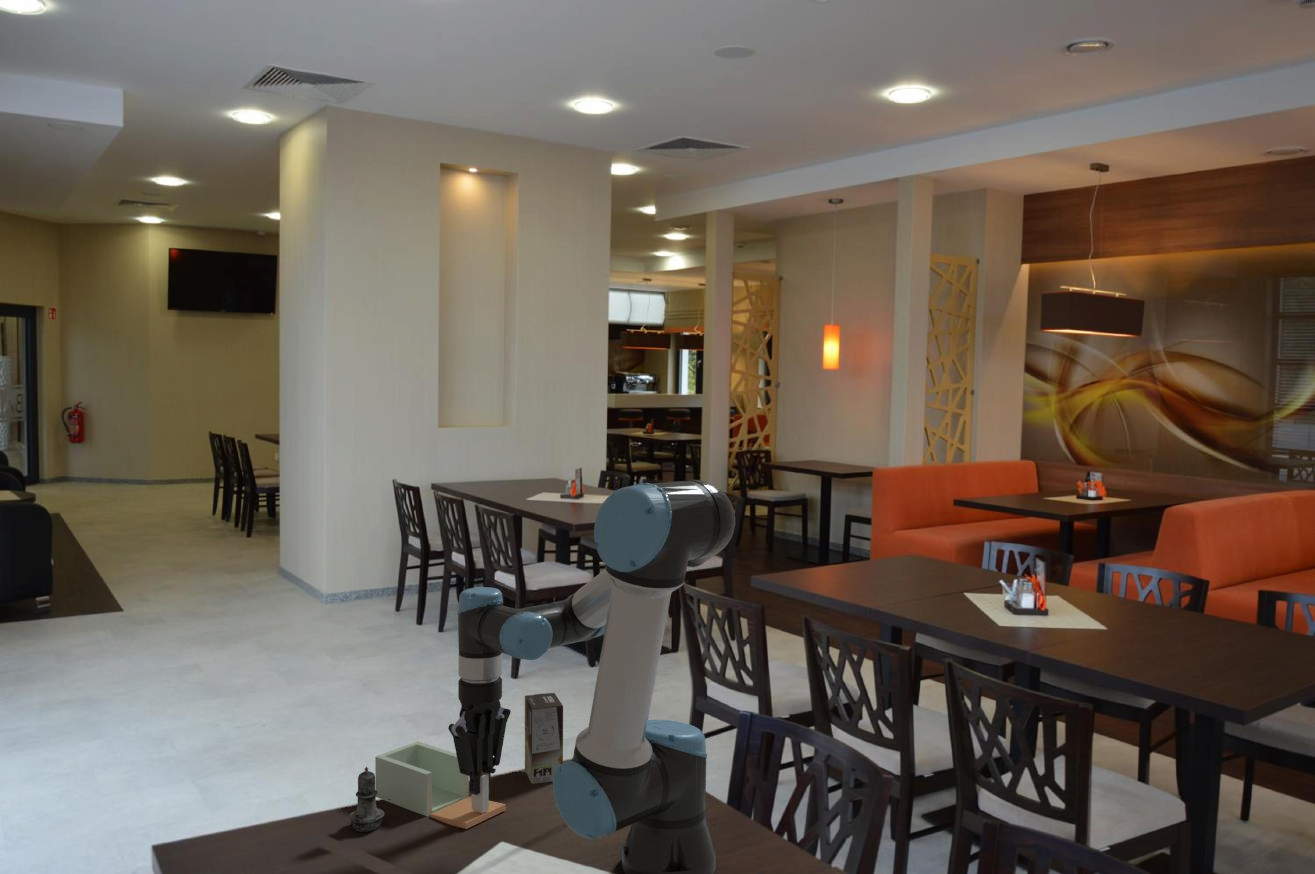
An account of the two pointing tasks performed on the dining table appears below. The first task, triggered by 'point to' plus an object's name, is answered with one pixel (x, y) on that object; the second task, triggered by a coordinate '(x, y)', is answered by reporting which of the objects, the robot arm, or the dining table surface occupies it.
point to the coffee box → (543, 736)
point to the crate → (420, 778)
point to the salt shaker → (366, 805)
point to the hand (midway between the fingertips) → (480, 809)
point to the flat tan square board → (466, 813)
